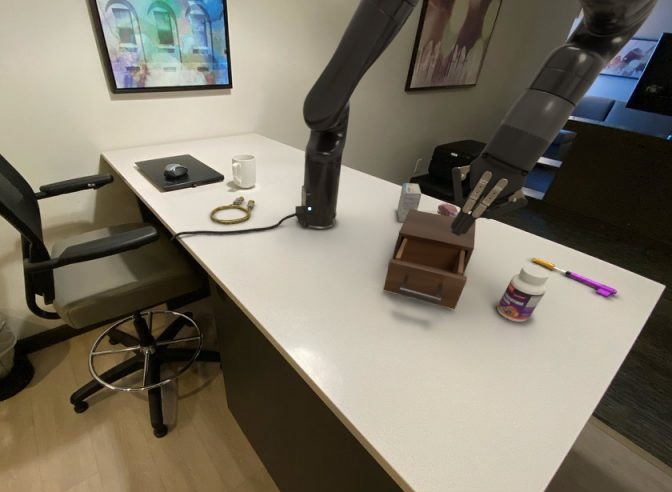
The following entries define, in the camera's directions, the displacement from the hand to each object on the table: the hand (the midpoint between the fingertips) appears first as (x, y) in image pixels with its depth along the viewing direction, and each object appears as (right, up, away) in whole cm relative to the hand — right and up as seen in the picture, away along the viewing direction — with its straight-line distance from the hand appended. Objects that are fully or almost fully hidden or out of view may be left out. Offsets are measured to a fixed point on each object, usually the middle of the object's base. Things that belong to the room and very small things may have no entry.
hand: (455, 233), depth 57 cm
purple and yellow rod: (+32, -8, +14) cm, 36 cm away
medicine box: (+5, +11, +38) cm, 40 cm away
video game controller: (+16, +8, +34) cm, 39 cm away
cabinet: (+4, -3, +20) cm, 20 cm away
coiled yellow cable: (-45, +12, +39) cm, 61 cm away
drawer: (-3, -10, +9) cm, 13 cm away
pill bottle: (+13, -15, +5) cm, 20 cm away
